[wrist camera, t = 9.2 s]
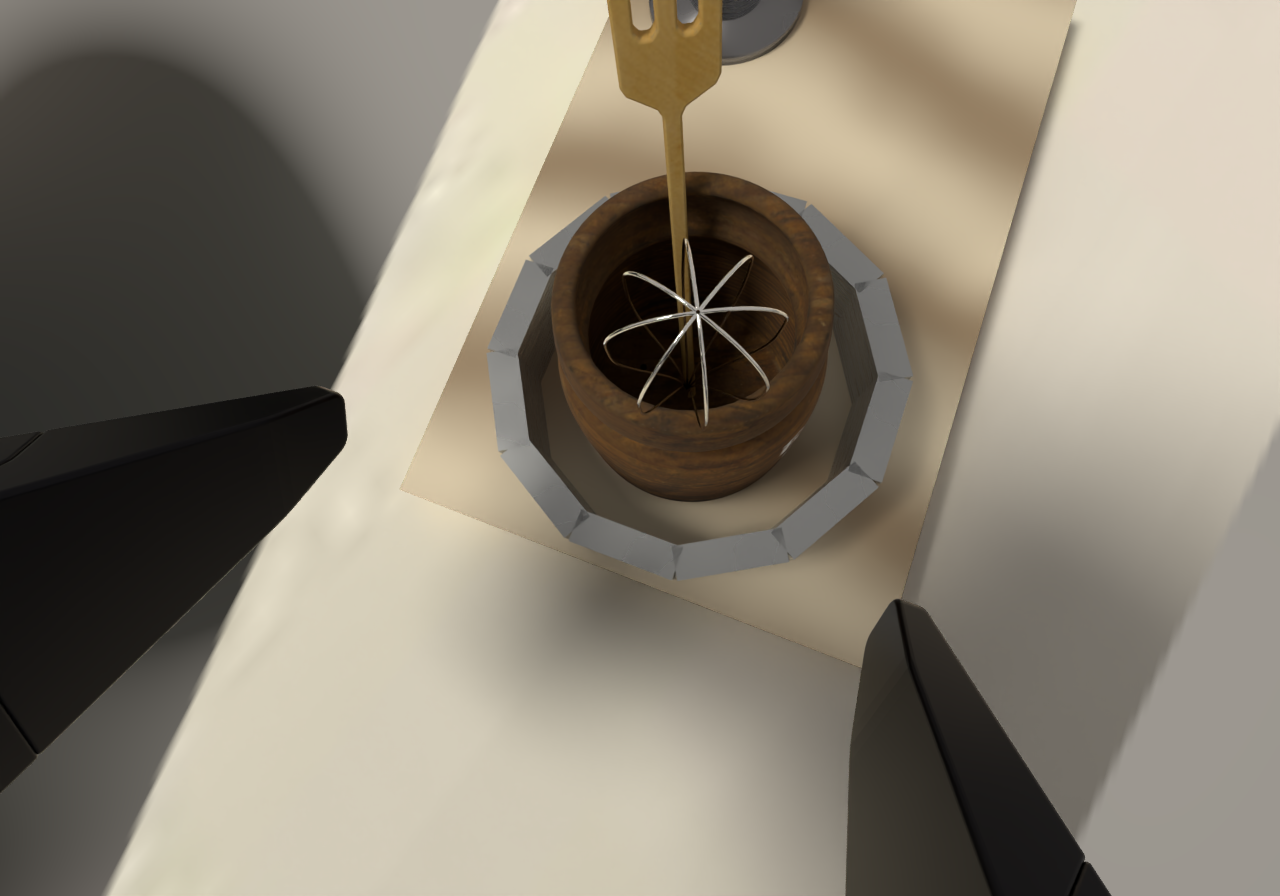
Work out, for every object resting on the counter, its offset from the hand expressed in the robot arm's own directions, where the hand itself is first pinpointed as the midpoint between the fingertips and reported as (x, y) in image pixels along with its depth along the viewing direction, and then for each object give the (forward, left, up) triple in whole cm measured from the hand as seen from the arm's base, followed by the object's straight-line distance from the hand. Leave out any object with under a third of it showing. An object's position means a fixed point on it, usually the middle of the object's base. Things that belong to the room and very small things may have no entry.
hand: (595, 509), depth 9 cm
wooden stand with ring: (+10, 0, -9) cm, 13 cm away
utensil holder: (+4, 0, -8) cm, 9 cm away
